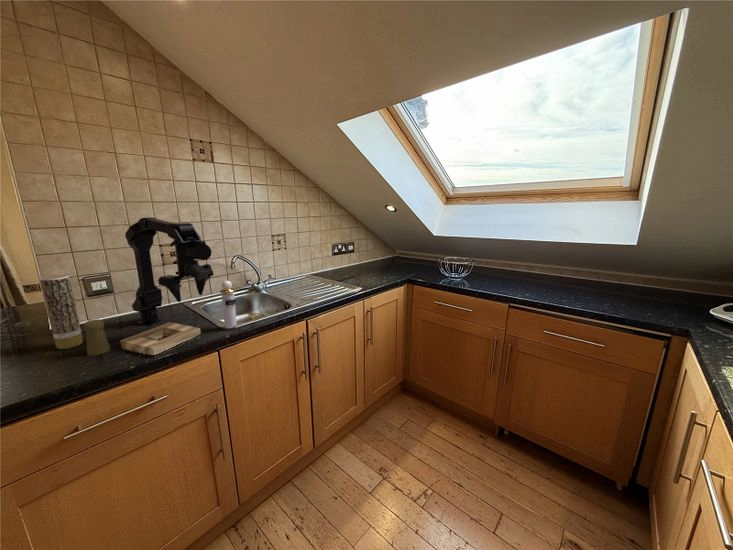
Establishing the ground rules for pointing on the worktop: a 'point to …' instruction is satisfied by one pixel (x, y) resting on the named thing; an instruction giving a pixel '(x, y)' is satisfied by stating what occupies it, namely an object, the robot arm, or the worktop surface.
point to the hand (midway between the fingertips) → (190, 298)
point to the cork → (96, 337)
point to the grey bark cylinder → (61, 310)
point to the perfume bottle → (228, 305)
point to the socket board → (151, 344)
